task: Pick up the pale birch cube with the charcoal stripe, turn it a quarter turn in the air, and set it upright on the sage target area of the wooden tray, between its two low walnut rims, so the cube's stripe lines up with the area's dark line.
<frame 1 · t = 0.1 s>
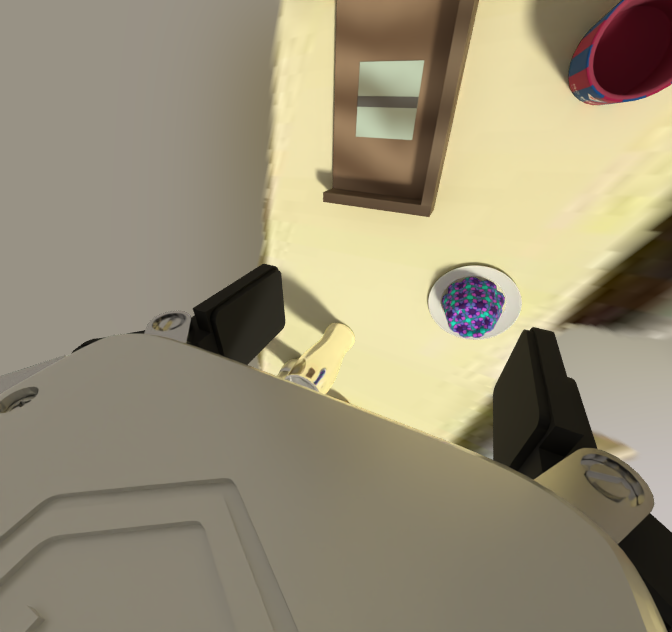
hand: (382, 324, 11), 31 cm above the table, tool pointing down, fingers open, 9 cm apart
beer glass: (340, 335, 56), on the table
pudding: (472, 301, 42), on the table
mug: (635, 33, 24), on the table
wooden tray: (391, 113, 34), on the table
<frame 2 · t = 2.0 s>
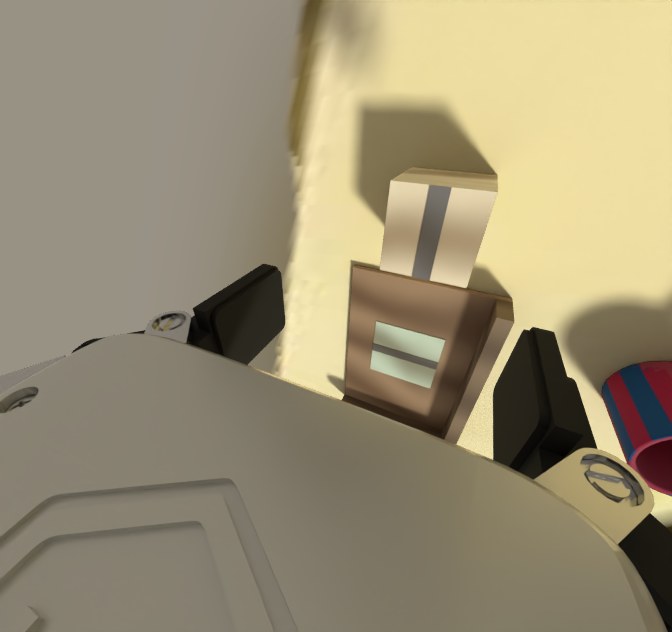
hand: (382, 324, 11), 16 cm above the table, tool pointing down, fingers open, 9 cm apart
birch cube: (442, 212, 23), on the table
wooden tray: (408, 360, 32), on the table
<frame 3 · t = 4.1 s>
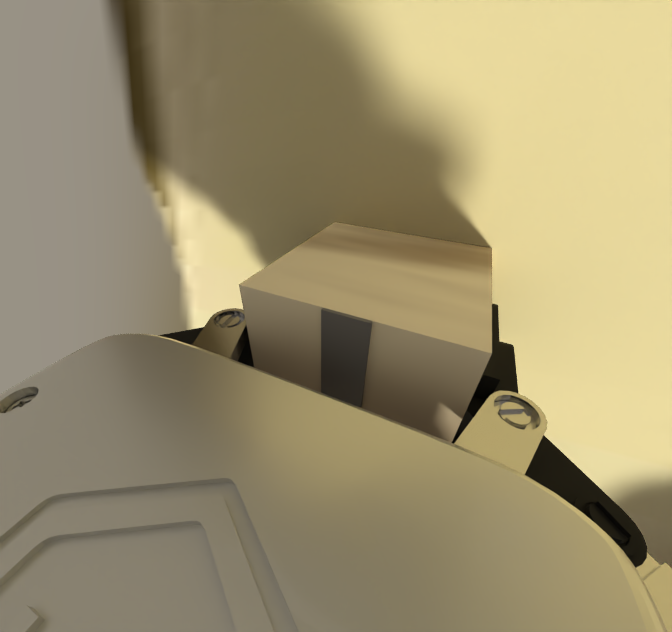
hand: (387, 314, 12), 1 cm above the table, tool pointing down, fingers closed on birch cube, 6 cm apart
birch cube: (394, 300, 13), on the table, touching gripper
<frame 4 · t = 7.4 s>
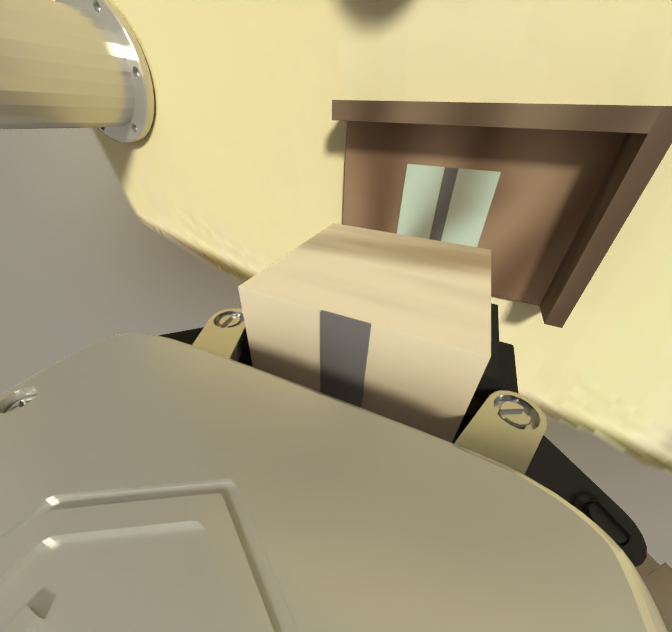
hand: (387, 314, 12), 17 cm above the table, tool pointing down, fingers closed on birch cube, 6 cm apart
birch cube: (394, 302, 13), point 16 cm above the table, touching gripper
wooden tray: (455, 207, 25), on the table
when the fingers open (3 cm above the table, at t = 10.9 s): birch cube drops 1 cm, resting on wooden tray.
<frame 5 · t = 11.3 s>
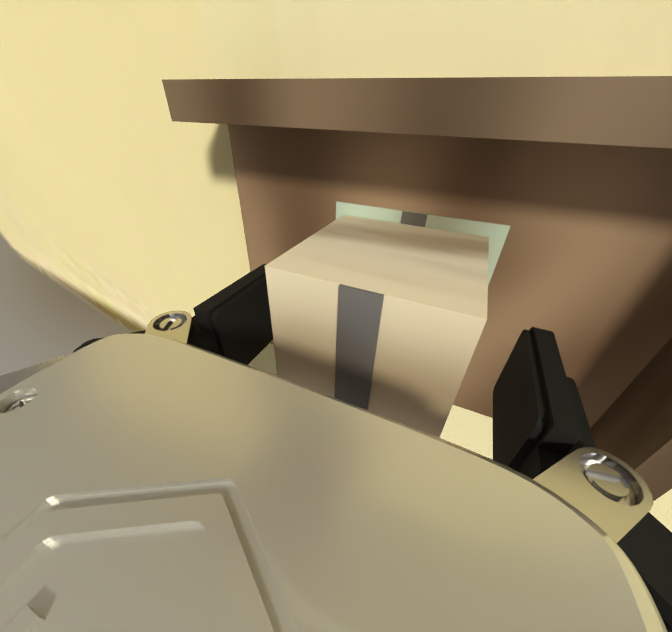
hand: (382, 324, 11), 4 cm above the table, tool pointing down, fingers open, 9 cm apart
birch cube: (399, 288, 14), point 1 cm above the table, touching wooden tray
wooden tray: (427, 277, 14), on the table
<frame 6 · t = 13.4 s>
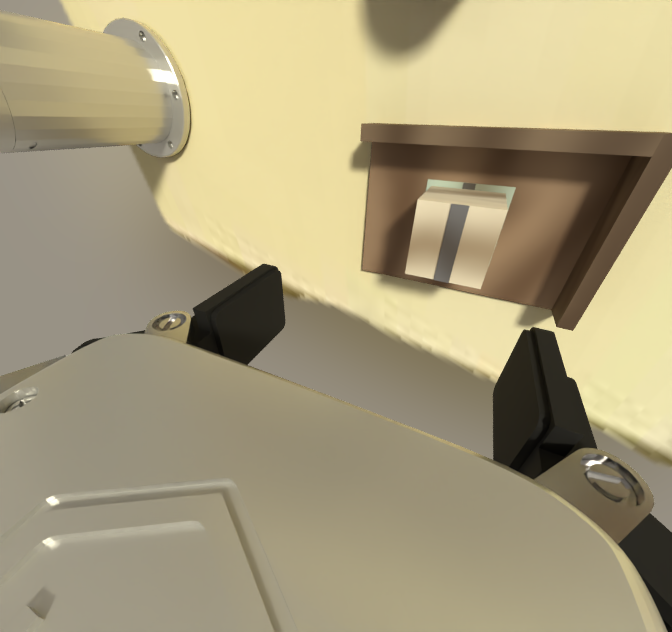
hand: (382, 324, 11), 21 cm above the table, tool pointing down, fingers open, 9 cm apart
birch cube: (458, 224, 27), point 1 cm above the table, touching wooden tray
wooden tray: (472, 218, 26), on the table
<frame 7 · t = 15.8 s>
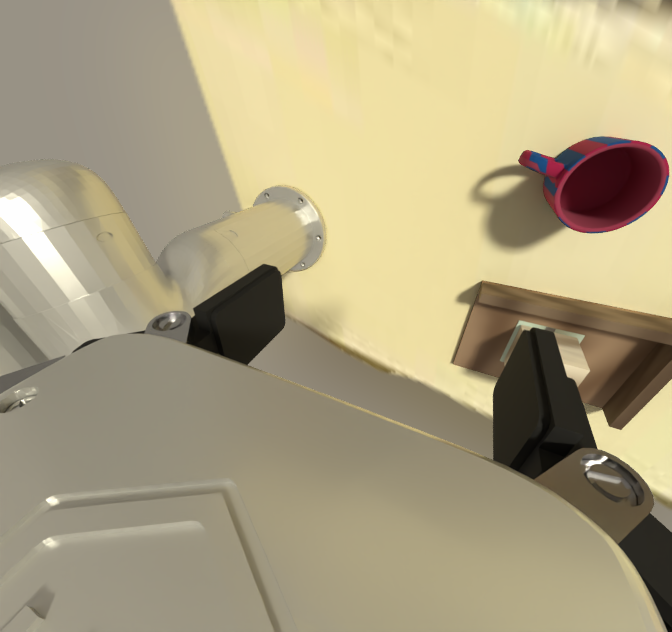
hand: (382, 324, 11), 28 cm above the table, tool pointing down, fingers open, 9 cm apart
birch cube: (538, 349, 37), point 1 cm above the table, touching wooden tray
mug: (569, 168, 28), on the table
wooden tray: (548, 345, 37), on the table
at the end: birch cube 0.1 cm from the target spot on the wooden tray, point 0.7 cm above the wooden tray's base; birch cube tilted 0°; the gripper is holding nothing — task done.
